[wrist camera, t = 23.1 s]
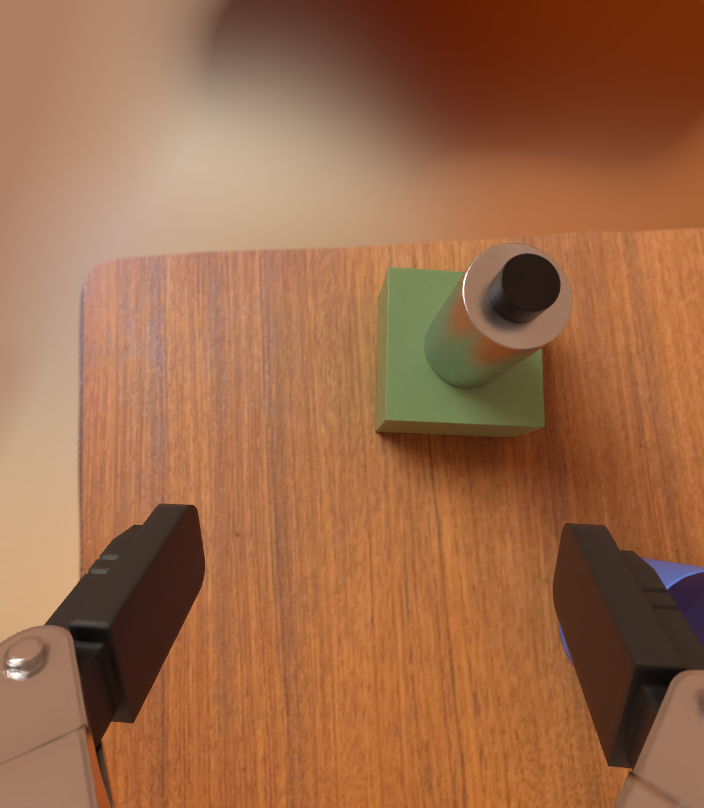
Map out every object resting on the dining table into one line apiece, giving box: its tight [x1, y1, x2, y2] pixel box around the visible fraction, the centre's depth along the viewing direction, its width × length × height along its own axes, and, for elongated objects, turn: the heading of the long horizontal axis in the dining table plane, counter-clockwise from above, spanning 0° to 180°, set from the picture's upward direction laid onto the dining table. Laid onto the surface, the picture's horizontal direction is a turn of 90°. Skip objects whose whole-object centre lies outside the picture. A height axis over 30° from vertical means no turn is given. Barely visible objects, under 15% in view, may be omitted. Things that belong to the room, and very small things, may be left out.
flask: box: [425, 243, 572, 389], centre depth 29 cm, size 5×5×10 cm
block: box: [375, 267, 545, 438], centre depth 36 cm, size 10×10×5 cm
